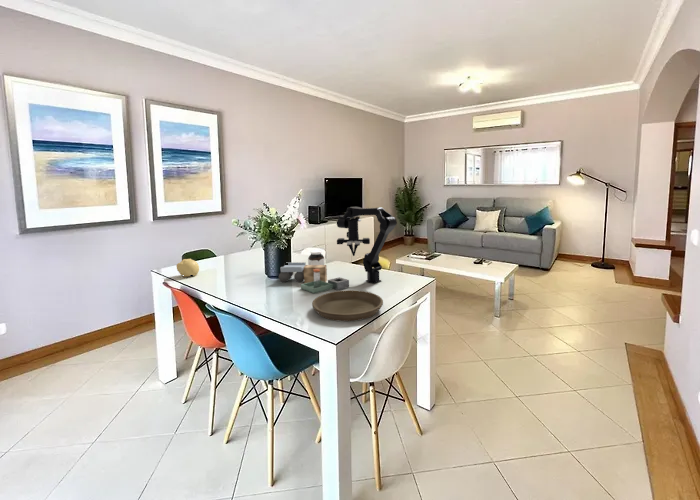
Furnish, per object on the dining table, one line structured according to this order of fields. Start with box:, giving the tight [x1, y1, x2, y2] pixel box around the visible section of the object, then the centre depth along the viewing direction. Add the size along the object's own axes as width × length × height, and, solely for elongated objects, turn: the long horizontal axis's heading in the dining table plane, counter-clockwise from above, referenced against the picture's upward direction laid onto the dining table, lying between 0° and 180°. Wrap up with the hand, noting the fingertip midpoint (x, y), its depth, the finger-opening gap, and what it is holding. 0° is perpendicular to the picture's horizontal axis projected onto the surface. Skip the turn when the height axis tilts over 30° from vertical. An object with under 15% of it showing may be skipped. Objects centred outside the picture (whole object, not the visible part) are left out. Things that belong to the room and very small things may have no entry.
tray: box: [300, 280, 334, 295], centre depth 195 cm, size 12×12×2 cm
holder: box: [327, 276, 350, 291], centre depth 197 cm, size 8×8×4 cm
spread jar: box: [307, 249, 326, 265], centre depth 236 cm, size 12×11×12 cm
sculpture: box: [176, 258, 200, 278], centre depth 229 cm, size 12×12×11 cm
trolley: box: [278, 262, 307, 283], centre depth 214 cm, size 15×12×9 cm
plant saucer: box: [311, 289, 384, 322], centre depth 162 cm, size 31×31×5 cm
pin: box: [313, 268, 320, 288], centre depth 194 cm, size 4×4×10 cm
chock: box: [303, 264, 328, 284], centre depth 209 cm, size 12×6×9 cm, turn 86°
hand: (353, 255), depth 213 cm, fingers closed
